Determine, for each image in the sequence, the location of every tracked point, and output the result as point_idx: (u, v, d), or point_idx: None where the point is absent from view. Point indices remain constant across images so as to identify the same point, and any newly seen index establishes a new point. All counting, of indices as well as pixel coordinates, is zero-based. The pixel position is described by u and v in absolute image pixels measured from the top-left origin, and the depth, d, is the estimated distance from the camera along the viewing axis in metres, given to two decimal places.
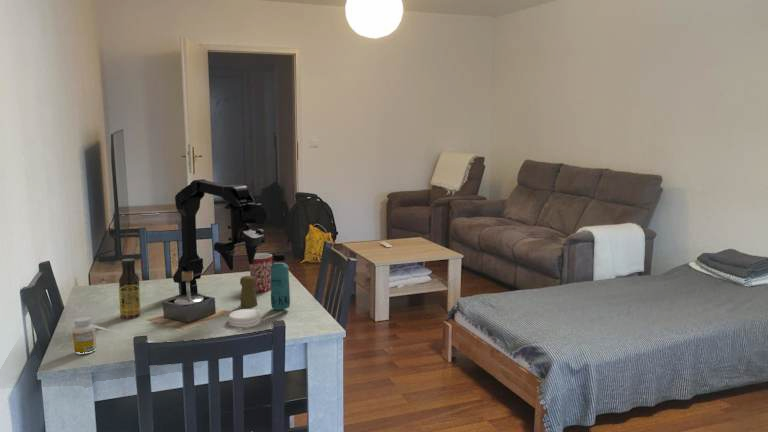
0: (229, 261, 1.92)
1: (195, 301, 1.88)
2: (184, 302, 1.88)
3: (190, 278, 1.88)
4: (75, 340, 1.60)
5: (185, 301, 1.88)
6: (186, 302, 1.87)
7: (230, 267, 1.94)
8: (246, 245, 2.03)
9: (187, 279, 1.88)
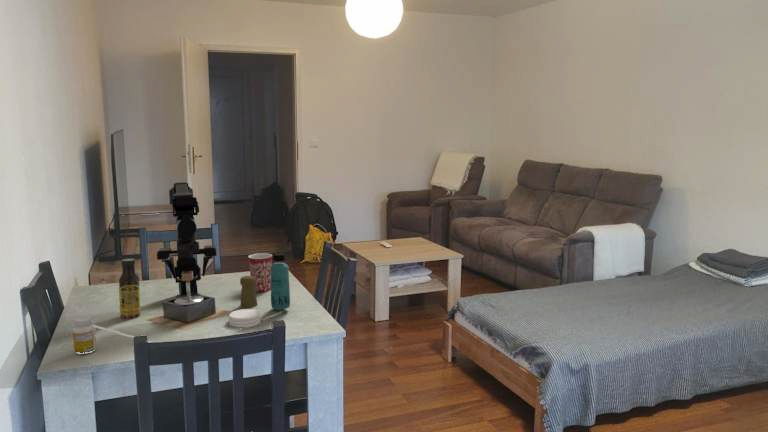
0: None
1: (195, 301, 1.88)
2: (184, 302, 1.88)
3: (190, 278, 1.88)
4: (75, 340, 1.60)
5: (185, 301, 1.88)
6: (186, 302, 1.87)
7: None
8: (204, 256, 1.96)
9: (187, 279, 1.88)
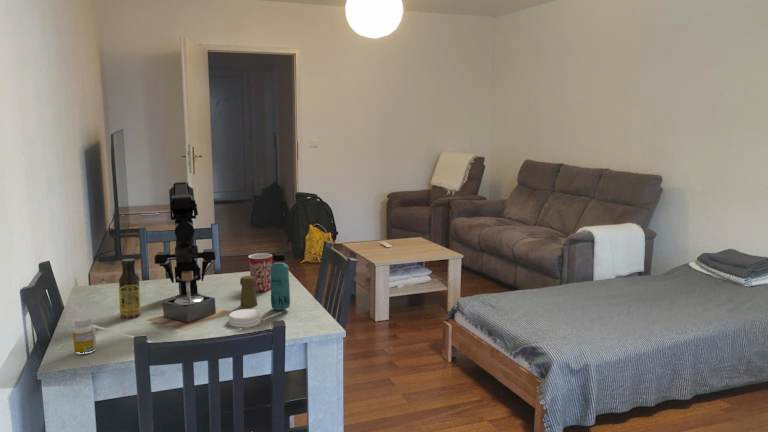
0: None
1: (195, 301, 1.88)
2: (184, 302, 1.88)
3: (190, 278, 1.88)
4: (75, 340, 1.60)
5: (185, 301, 1.88)
6: (186, 302, 1.87)
7: None
8: None
9: (187, 279, 1.88)
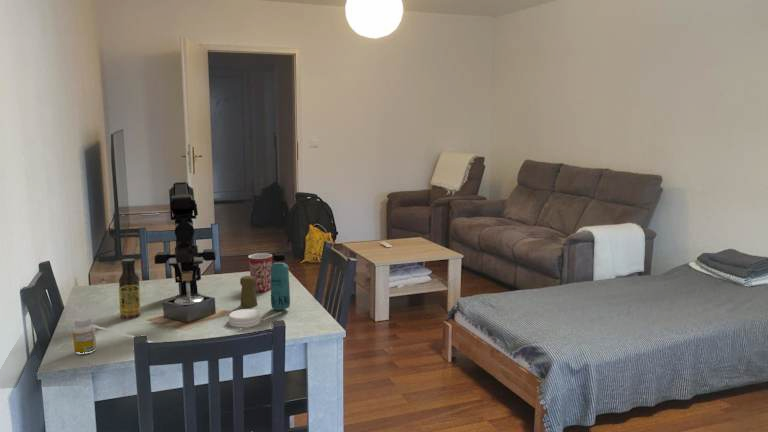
0: None
1: (195, 301, 1.88)
2: (184, 302, 1.88)
3: (190, 278, 1.88)
4: (75, 340, 1.60)
5: (185, 301, 1.88)
6: (186, 302, 1.87)
7: None
8: None
9: (187, 279, 1.88)
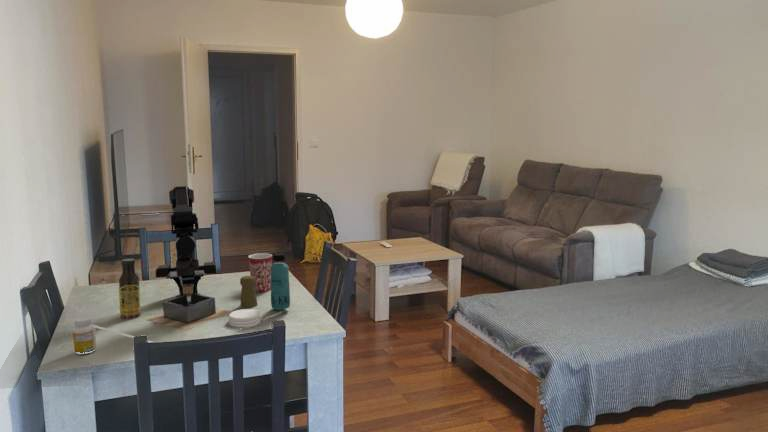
0: None
1: None
2: None
3: (191, 291, 1.89)
4: (75, 340, 1.60)
5: None
6: None
7: None
8: None
9: (188, 292, 1.88)
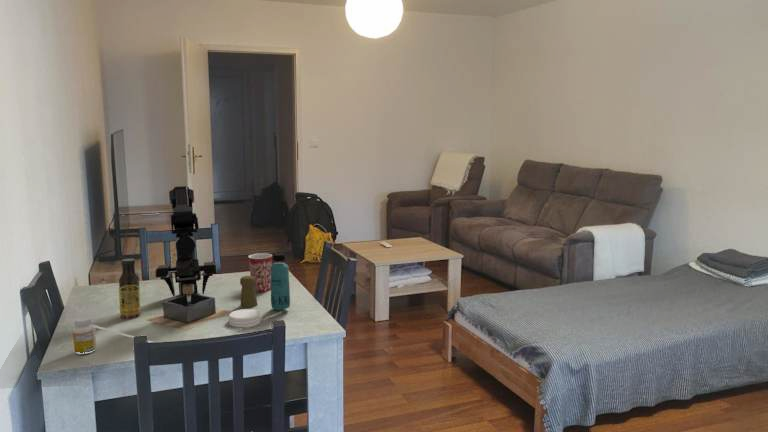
0: None
1: None
2: None
3: (191, 291, 1.89)
4: (75, 340, 1.60)
5: None
6: None
7: None
8: None
9: (188, 292, 1.88)
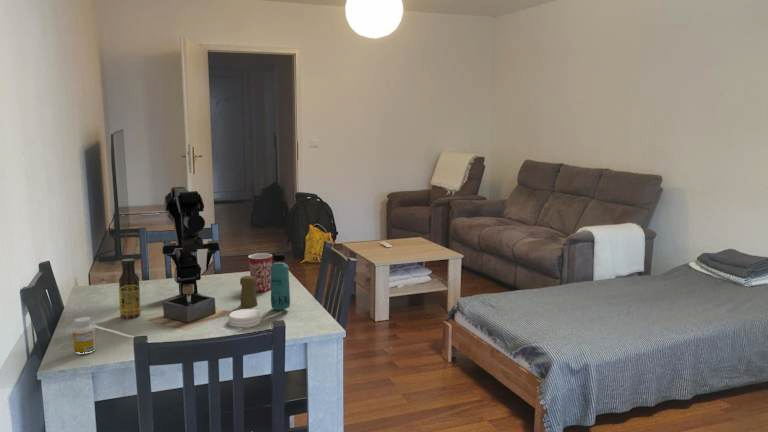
0: None
1: None
2: None
3: (191, 291, 1.89)
4: (75, 340, 1.60)
5: None
6: None
7: None
8: None
9: (188, 292, 1.88)
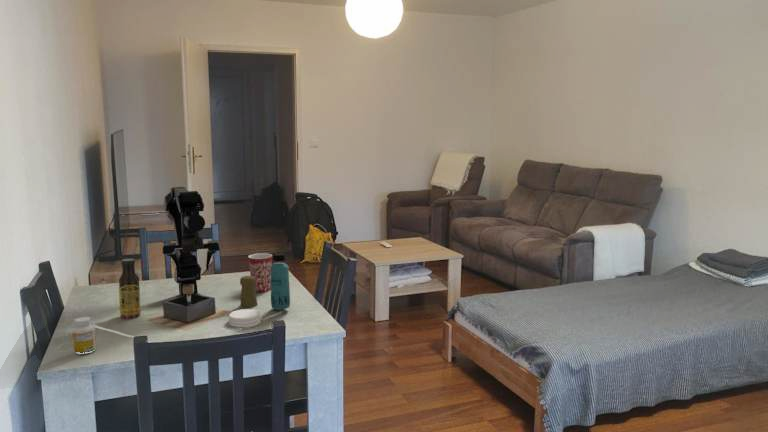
0: None
1: None
2: None
3: (191, 291, 1.89)
4: (75, 340, 1.60)
5: None
6: None
7: None
8: None
9: (188, 292, 1.88)
